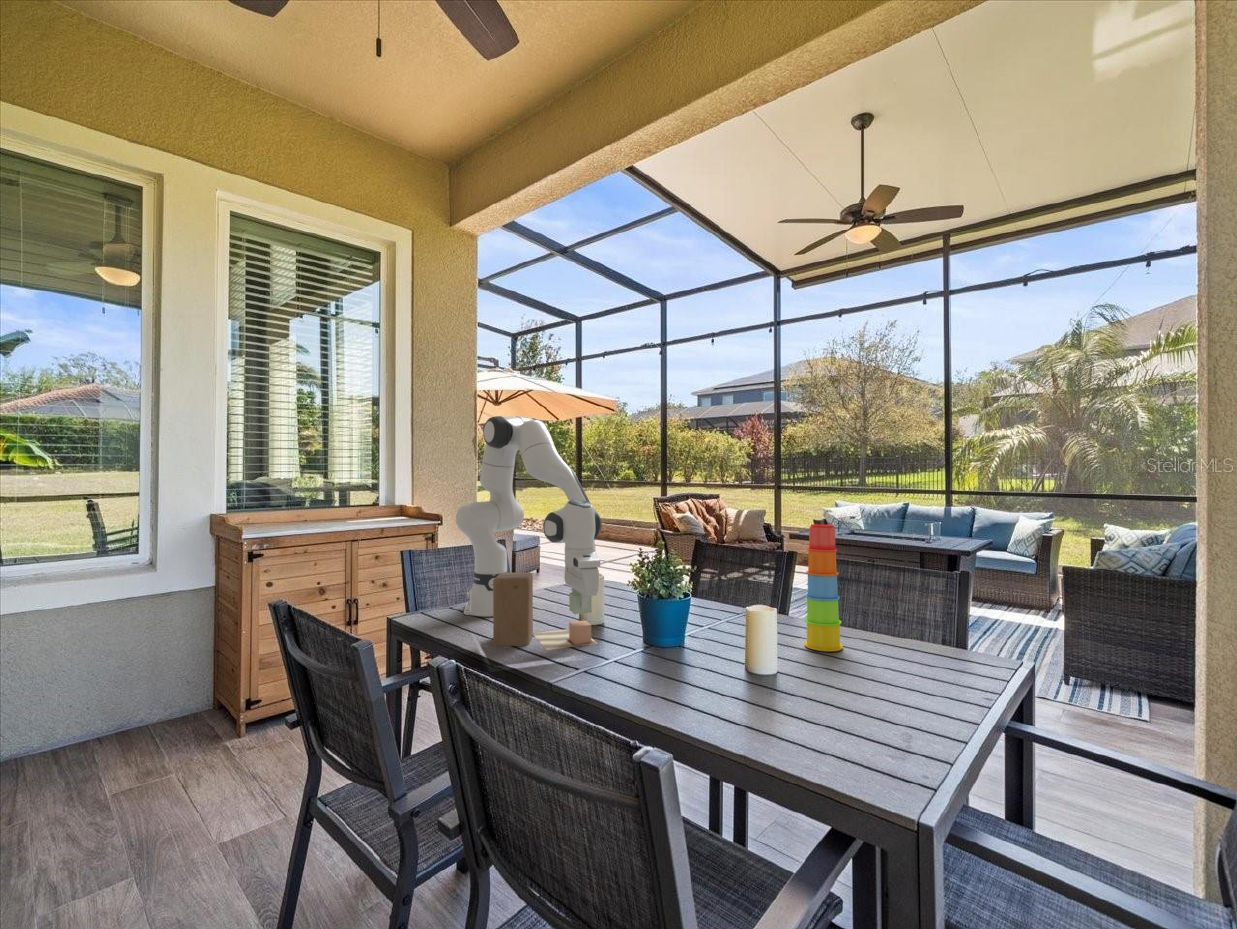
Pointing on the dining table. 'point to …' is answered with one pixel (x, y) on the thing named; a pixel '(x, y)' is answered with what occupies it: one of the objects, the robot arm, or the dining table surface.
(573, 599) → the sage block
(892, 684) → the dining table surface
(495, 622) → the wooden block
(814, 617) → the stacking cups
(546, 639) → the birch base board
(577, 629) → the terracotta block
